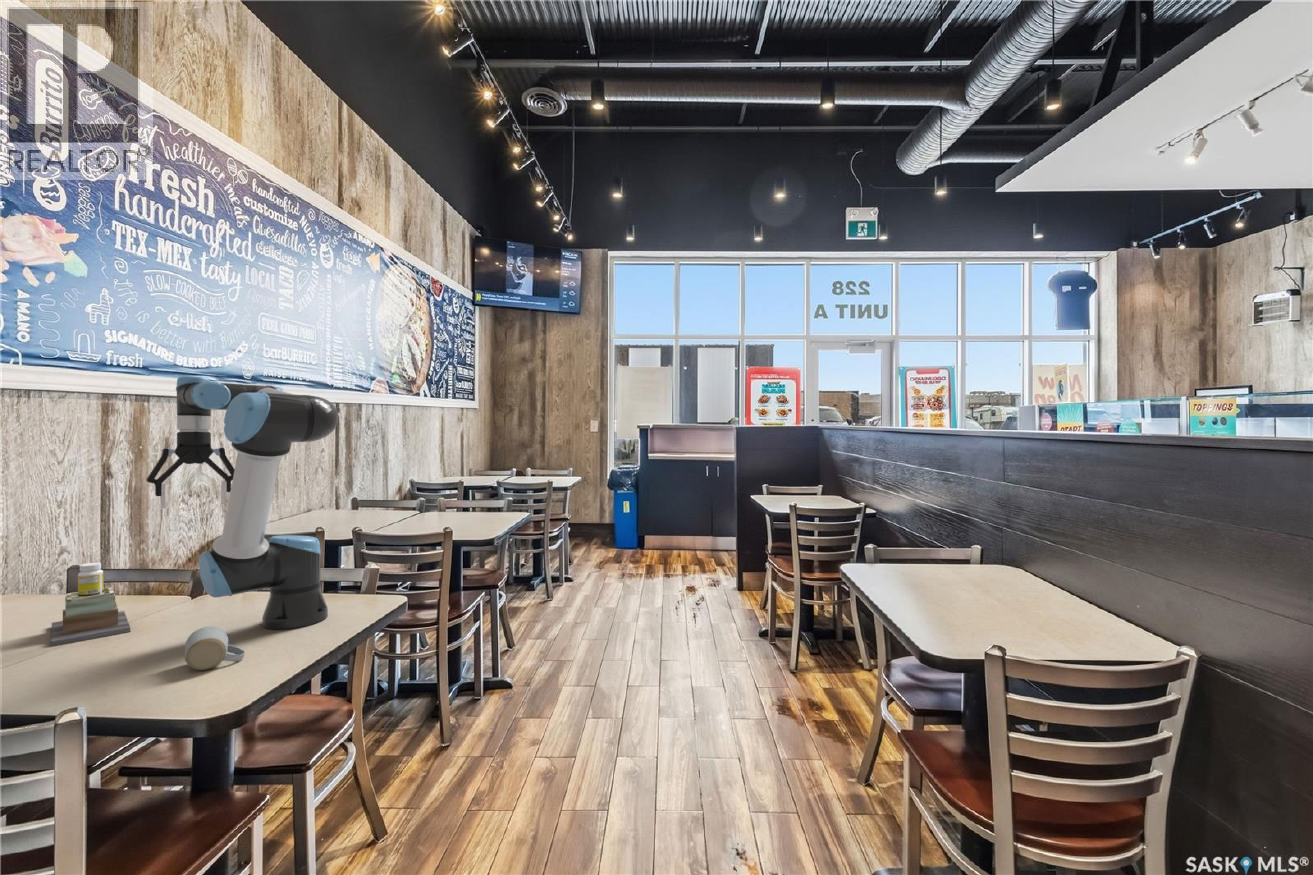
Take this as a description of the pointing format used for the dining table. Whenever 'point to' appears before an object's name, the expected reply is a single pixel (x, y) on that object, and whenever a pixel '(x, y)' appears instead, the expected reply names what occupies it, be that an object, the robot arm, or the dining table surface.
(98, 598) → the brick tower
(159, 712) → the dining table surface
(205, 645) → the ceramic mug
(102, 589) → the supplement bottle
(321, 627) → the dining table surface
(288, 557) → the robot arm
